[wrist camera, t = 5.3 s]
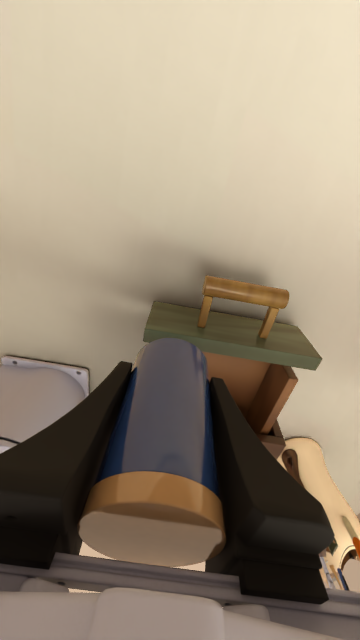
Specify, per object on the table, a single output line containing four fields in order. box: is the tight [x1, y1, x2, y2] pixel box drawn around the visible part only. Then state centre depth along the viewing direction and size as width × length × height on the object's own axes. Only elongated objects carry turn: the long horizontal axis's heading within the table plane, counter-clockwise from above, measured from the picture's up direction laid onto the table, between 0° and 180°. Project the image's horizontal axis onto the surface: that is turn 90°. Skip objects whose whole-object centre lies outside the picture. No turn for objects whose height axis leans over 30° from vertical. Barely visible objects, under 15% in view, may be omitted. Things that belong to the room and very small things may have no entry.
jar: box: [77, 338, 227, 567], centre depth 11 cm, size 5×5×8 cm
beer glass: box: [277, 438, 360, 592], centre depth 26 cm, size 7×7×15 cm
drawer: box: [143, 276, 322, 435], centre depth 21 cm, size 17×13×5 cm
